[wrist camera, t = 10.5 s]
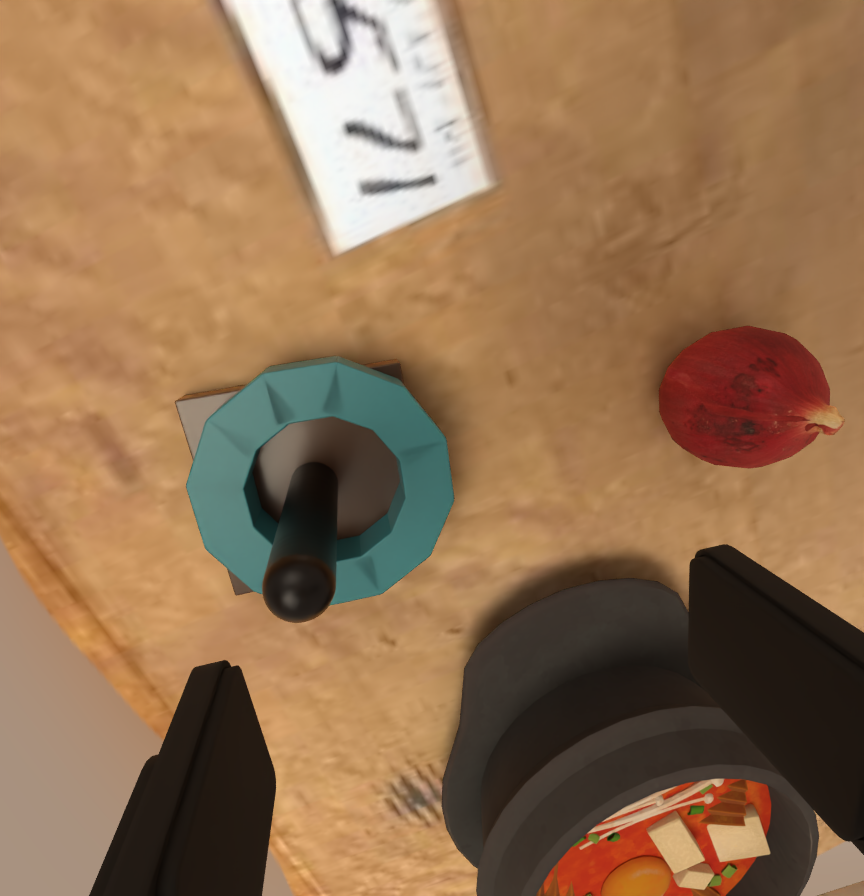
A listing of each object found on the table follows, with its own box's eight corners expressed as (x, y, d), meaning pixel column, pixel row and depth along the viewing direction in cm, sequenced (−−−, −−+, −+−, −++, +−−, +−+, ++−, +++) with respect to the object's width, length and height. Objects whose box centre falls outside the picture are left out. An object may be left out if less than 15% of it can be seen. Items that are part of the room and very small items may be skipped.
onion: (630, 452, 25) (752, 519, 18) (621, 337, 23) (753, 357, 16) (735, 425, 26) (898, 479, 18) (734, 311, 24) (915, 318, 16)
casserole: (378, 627, 26) (394, 776, 18) (710, 514, 27) (863, 604, 19) (487, 925, 34) (532, 1119, 26) (738, 825, 35) (854, 979, 27)
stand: (183, 395, 21) (47, 481, 11) (397, 358, 22) (440, 408, 12) (240, 581, 24) (171, 778, 14) (427, 541, 25) (482, 698, 15)
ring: (173, 381, 20) (155, 390, 18) (426, 341, 21) (434, 346, 19) (238, 600, 23) (229, 628, 21) (455, 554, 24) (464, 577, 22)
